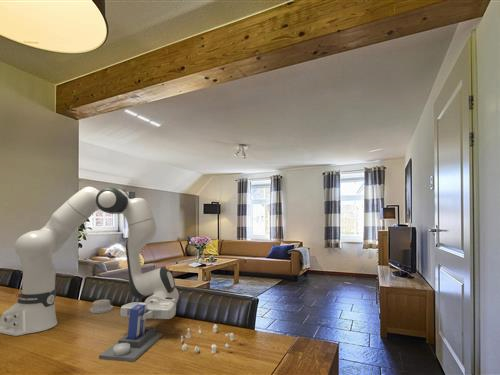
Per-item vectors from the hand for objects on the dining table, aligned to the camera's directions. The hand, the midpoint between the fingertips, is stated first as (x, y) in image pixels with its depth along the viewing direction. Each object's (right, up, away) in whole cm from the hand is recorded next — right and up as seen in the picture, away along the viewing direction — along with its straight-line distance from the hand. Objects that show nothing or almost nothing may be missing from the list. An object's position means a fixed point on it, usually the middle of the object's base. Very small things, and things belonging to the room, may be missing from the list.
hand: (137, 317), depth 108 cm
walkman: (-1, -8, 0) cm, 8 cm away
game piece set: (+25, -10, +1) cm, 26 cm away
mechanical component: (-31, -12, +36) cm, 49 cm away
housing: (0, -9, -3) cm, 9 cm away
